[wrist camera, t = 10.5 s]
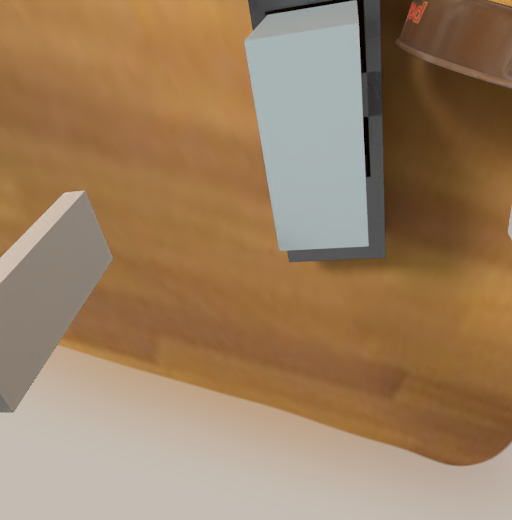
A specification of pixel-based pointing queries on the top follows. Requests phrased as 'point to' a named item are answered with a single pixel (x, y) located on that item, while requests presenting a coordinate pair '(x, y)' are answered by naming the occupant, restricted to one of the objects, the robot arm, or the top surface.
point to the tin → (462, 37)
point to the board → (264, 4)
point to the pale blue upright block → (312, 124)
